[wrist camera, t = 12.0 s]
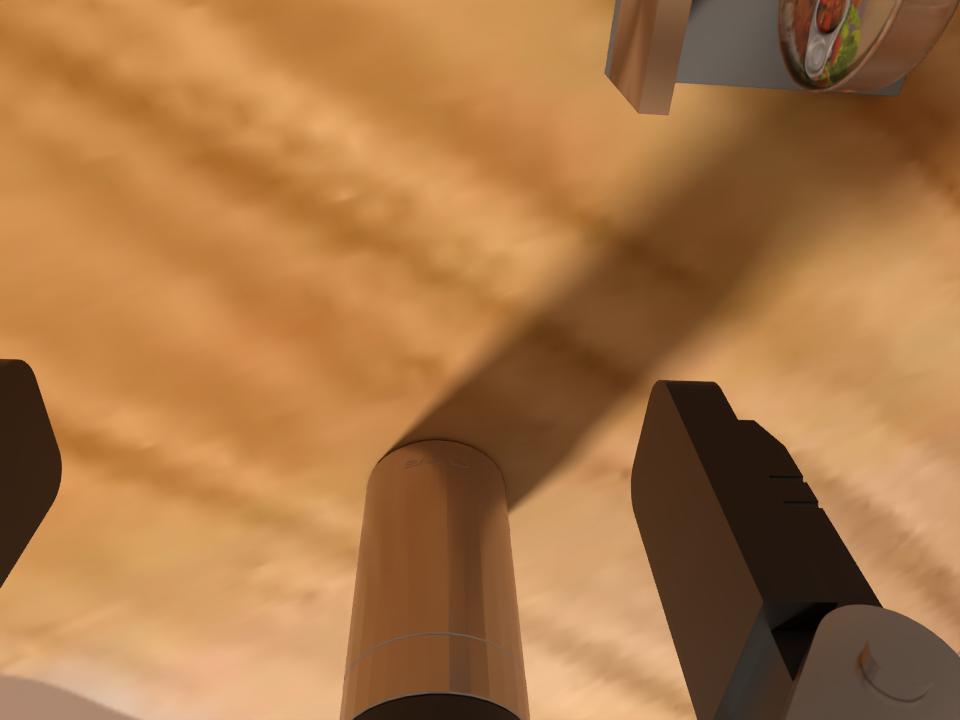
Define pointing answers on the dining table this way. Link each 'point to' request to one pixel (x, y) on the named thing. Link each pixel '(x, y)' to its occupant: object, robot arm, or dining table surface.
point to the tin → (857, 40)
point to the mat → (735, 47)
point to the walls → (649, 52)
